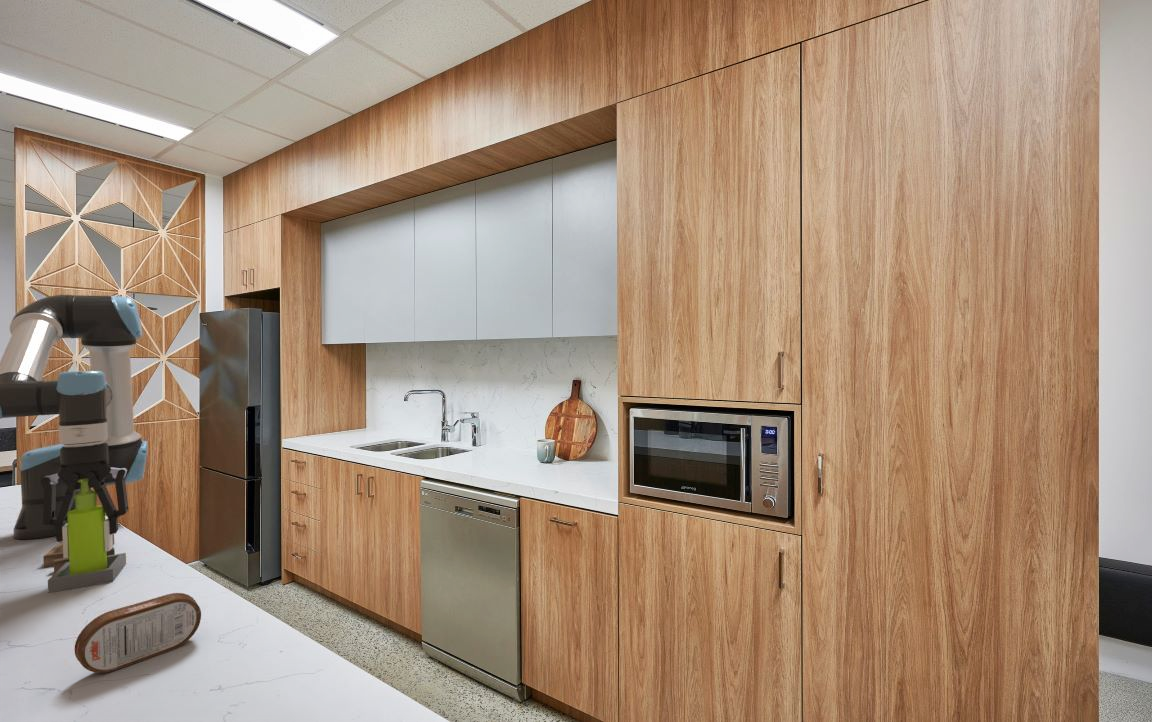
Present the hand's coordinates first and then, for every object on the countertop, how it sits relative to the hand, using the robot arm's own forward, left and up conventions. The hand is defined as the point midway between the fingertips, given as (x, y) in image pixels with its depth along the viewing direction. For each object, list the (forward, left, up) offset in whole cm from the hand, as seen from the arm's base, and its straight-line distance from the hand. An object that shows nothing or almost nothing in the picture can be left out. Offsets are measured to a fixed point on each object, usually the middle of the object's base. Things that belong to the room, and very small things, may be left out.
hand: (88, 552), depth 114 cm
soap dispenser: (0, 0, -4) cm, 4 cm away
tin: (+46, +17, -6) cm, 49 cm away
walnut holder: (-19, -6, -5) cm, 21 cm away
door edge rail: (-9, -3, -5) cm, 11 cm away
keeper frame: (0, 0, -5) cm, 5 cm away
